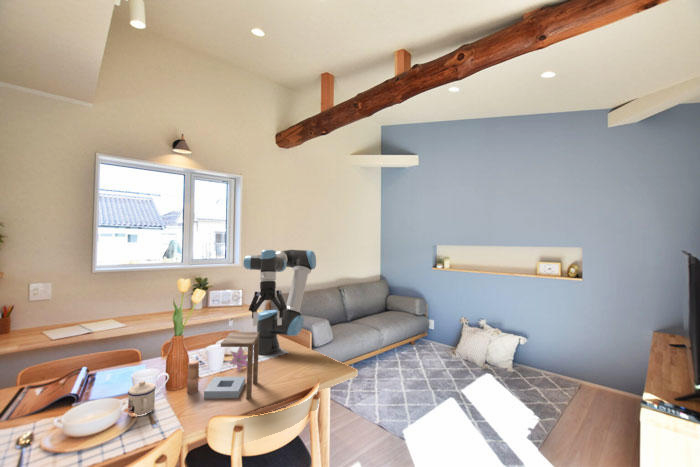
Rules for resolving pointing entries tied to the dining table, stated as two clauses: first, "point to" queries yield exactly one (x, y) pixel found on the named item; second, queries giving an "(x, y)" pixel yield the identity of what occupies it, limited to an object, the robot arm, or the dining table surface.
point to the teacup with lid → (141, 398)
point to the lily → (239, 359)
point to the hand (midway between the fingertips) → (267, 325)
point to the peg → (193, 377)
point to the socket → (224, 387)
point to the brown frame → (248, 341)
